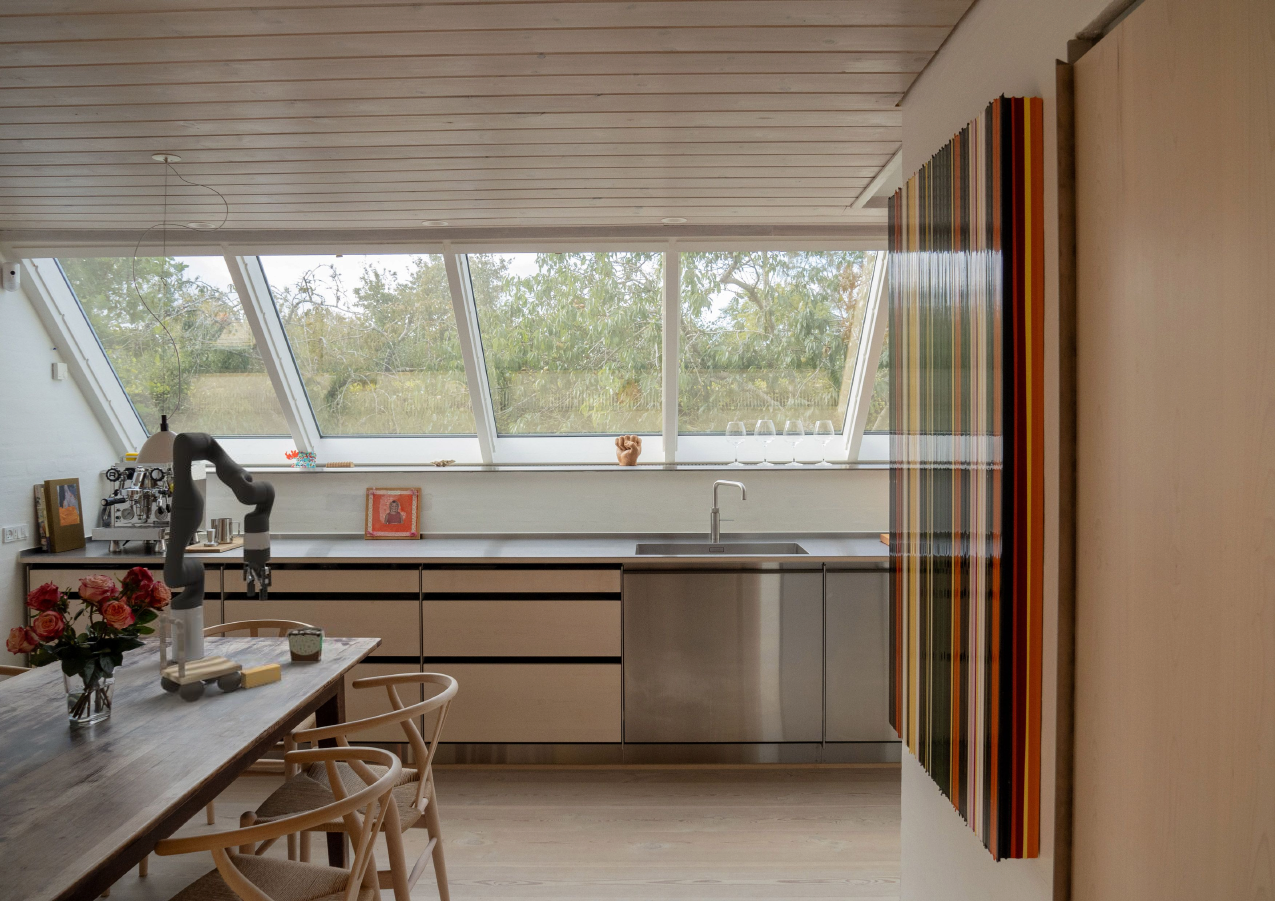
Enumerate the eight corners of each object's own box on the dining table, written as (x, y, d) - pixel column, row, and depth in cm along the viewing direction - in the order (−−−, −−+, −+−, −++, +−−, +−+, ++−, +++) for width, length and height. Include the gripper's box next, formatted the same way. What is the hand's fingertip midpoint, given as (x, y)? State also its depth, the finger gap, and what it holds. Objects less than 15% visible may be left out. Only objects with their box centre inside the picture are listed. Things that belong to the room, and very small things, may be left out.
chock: (240, 686, 226) (240, 671, 226) (275, 677, 234) (274, 663, 234) (246, 689, 224) (246, 673, 224) (281, 680, 231) (280, 665, 231)
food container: (332, 656, 255) (331, 626, 255) (323, 662, 249) (322, 631, 249) (297, 656, 256) (296, 626, 256) (286, 661, 250) (286, 631, 250)
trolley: (159, 693, 221) (156, 614, 220) (219, 678, 233) (216, 603, 233) (181, 705, 211) (179, 621, 210) (242, 689, 223) (240, 610, 223)
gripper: (234, 545, 241) (234, 596, 242) (254, 550, 232) (255, 603, 233) (259, 542, 247) (259, 592, 247) (279, 547, 238) (280, 599, 238)
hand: (257, 598), depth 240 cm, fingers open, 8 cm apart
